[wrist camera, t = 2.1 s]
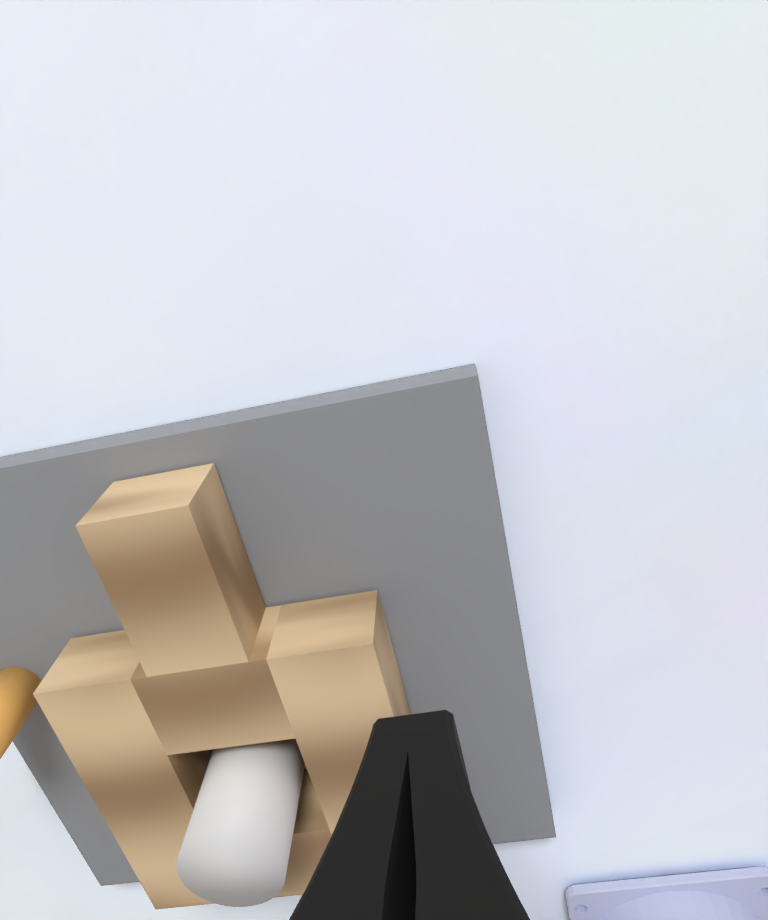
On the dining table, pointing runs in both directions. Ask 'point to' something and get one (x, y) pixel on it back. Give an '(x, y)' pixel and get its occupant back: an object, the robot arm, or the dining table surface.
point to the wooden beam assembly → (209, 676)
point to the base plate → (292, 600)
